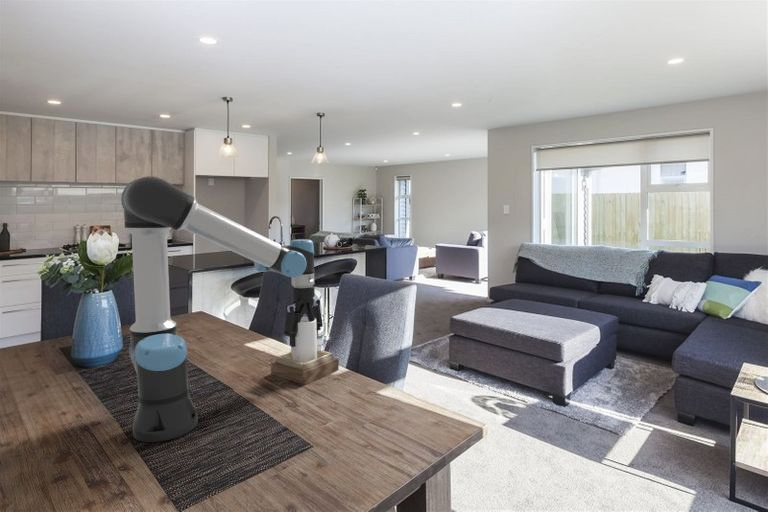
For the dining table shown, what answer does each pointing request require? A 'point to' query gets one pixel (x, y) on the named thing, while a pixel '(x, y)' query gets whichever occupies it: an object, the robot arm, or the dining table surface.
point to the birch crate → (287, 360)
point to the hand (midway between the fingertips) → (304, 351)
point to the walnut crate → (301, 375)
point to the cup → (306, 341)
